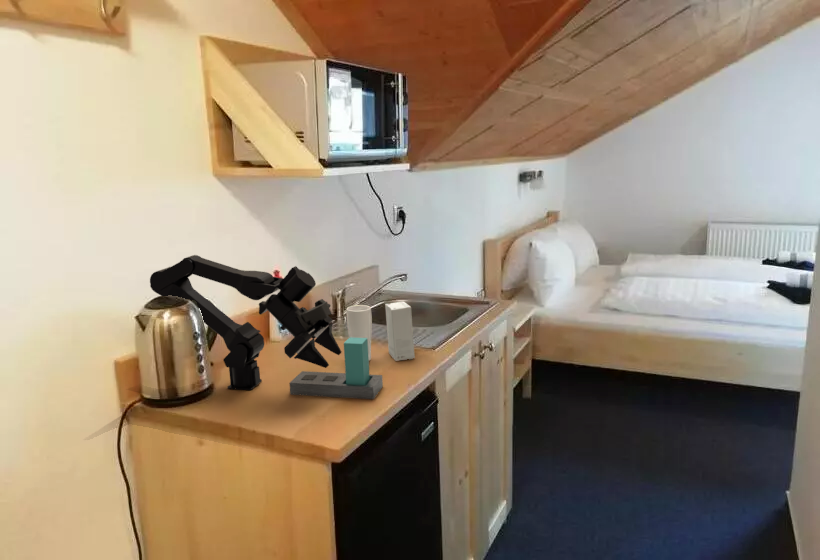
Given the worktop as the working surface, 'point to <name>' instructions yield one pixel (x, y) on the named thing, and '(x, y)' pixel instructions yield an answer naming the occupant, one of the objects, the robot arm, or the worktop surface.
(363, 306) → the drinking glass
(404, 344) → the skincare box
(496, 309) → the worktop surface
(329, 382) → the grey peg board
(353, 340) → the teal peg
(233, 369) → the robot arm
